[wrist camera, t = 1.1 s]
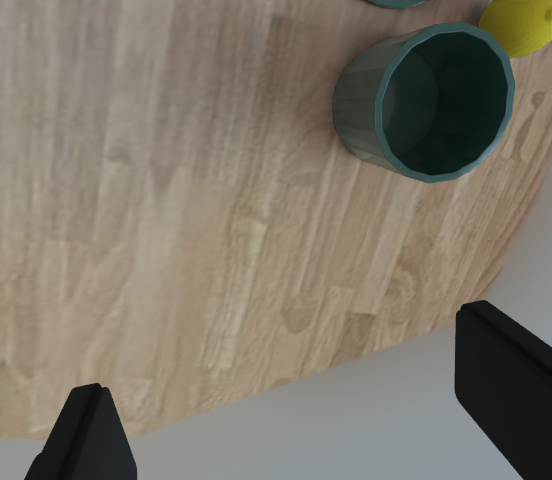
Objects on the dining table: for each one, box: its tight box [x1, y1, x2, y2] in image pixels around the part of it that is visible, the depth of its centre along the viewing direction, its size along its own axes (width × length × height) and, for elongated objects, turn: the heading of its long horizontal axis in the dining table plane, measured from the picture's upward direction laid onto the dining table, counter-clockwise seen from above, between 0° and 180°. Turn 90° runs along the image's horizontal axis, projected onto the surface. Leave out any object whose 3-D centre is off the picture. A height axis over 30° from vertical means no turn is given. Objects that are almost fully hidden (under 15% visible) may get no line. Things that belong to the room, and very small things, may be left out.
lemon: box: [478, 0, 552, 59], centre depth 34 cm, size 6×6×8 cm
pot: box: [333, 22, 515, 183], centre depth 34 cm, size 11×11×10 cm
